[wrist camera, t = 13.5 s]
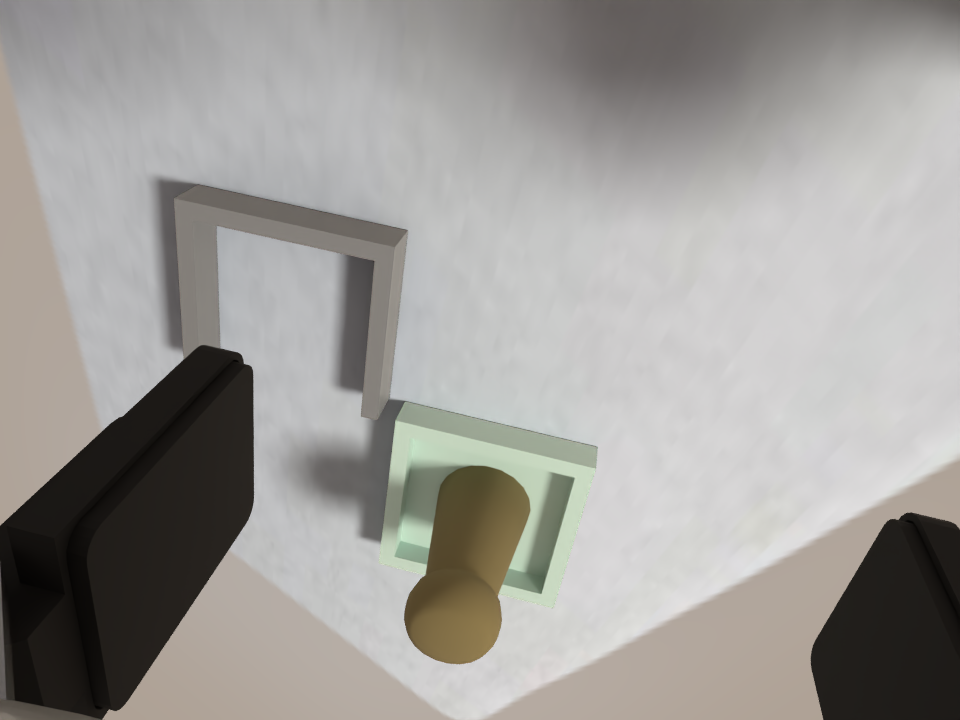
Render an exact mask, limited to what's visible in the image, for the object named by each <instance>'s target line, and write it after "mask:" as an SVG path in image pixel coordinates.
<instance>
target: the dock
mask: <svg viewBox="0 0 960 720" xmlns="http://www.w3.org/2000/svg"><path fill="white" fill-rule="evenodd" d="M174 210H175V227H176V243H177V259H178V275H179V291H180V307H181V323H182V340H183V356H184V359H185V358H186V357H187V356H188V355H189V354H190V353H191V352H193V351H194V350H195V349H196V348H197V347H199V346H200V345H208V346H212V347H216V348H220V326H219V294H218V263H217V231H216V226H220V227H225V228H229V229H234V230H238V231H243V232H247V233H252V234H256V235H261V236H265V237H269V238H274V239H278V240H283V241H287V242H292V243H296V244H301V245H305V246H310V247H314V248H319V249H323V250H328V251H332V252H337V253H341V254H345V255H350V256H354V257H359V258H363V259H368V260H372V261H374V272H373V284H372V295H371V306H370V318H369V329H368V340H367V352H366V363H365V375H364V386H363V397H362V409H361V417H365V418H369V419H374V420H378V418H379V416H380V414H381V412H382V411H383V409H384V407H385V405H386V403H387V401H388V399H389V397H390V388H391V379H392V370H393V361H394V352H395V343H396V334H397V325H398V316H399V307H400V298H401V289H402V280H403V271H404V262H405V253H406V244H407V235H408V231H407V230H403V229H398V228H394V227H389V226H385V225H380V224H376V223H371V222H366V221H362V220H357V219H353V218H348V217H344V216H339V215H335V214H330V213H325V212H321V211H316V210H312V209H307V208H303V207H298V206H294V205H289V204H284V203H280V202H275V201H271V200H266V199H262V198H257V197H253V196H248V195H243V194H239V193H234V192H230V191H225V190H221V189H216V188H212V187H207V186H202V185H196V186H195V187H193V188H191V189H189V190H187V191H186V192H184V193H182V194H180V195H179V196H177V197H175V198H174Z"/></svg>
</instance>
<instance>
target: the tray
mask: <svg viewBox="0 0 960 720" xmlns="http://www.w3.org/2000/svg"><path fill="white" fill-rule="evenodd" d="M597 449H598V447H594V446H590V445H586V444H582V443H577V442H573V441H569V440H565V439H561V438H557V437H552V436H548V435H544V434H540V433H536V432H531V431H527V430H523V429H519V428H515V427H510V426H506V425H502V424H498V423H494V422H489V421H485V420H481V419H477V418H473V417H468V416H464V415H460V414H456V413H452V412H447V411H443V410H439V409H435V408H431V407H427V406H422V405H418V404H414V403H410V402H406V401H405V403H404V405H403V407H402V409H401V411H400V413H399V415H398V417H397V419H396V421H395V429H394V438H393V446H392V455H391V463H390V472H389V480H388V488H387V497H386V505H385V514H384V522H383V531H382V539H381V548H380V556H379V564H383V565H387V566H390V567H394V568H398V569H402V570H406V571H410V572H414V573H418V574H422V575H425V574H426V568H427V562H428V555H429V549H430V543H431V536H432V530H433V524H434V518H435V511H436V505H437V499H438V493H439V489H440V485H441V484H442V482H443V481H444V479H445V478H446V477H447V476H448V475H449V474H451V473H452V472H454V471H455V470H457V469H460V468H464V467H468V466H488V467H492V468H495V469H499V470H502V471H503V472H505V473H507V474H509V475H510V476H512V477H514V478H515V479H516V480H517V481H518V482H519V483H520V484H521V485H522V486H523V487H524V489H525V491H526V493H527V495H528V497H529V500H530V509H531V511H530V514H529V517H528V520H527V523H526V526H525V528H524V531H523V533H522V536H521V538H520V541H519V543H518V546H517V548H516V551H515V554H514V556H513V559H512V561H511V564H510V566H509V569H508V571H507V574H506V576H505V579H504V581H503V584H502V586H501V589H500V591H499V595H503V596H507V597H511V598H515V599H519V600H523V601H527V602H530V603H534V604H538V605H542V606H546V607H550V608H554V605H555V601H556V598H557V595H558V591H559V588H560V585H561V582H562V578H563V575H564V572H565V569H566V565H567V562H568V559H569V555H570V552H571V549H572V546H573V542H574V539H575V536H576V532H577V529H578V526H579V523H580V519H581V516H582V513H583V509H584V506H585V503H586V500H587V496H588V493H589V490H590V486H591V483H592V480H593V477H594V473H595V470H596V461H597Z"/></svg>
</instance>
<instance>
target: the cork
mask: <svg viewBox="0 0 960 720" xmlns="http://www.w3.org/2000/svg"><path fill="white" fill-rule="evenodd" d="M530 511H531V509H530V500H529V497H528V495H527V493H526V491H525V489H524V487H523V486H522V485H521V484H520V483H519V482H518V481H517V480H516V479H515V478H514V477H512V476H510V475H509V474H507V473H505V472H503V471H502V470H499V469H495V468H492V467H488V466H468V467H464V468H460V469H457V470H455V471H454V472H452V473H451V474H449V475H448V476H447V477H446V478H445V479H444V481H443V482H442V484H441V485H440V489H439V493H438V499H437V505H436V511H435V518H434V524H433V530H432V536H431V543H430V549H429V555H428V562H427V568H426V574H425V576H424V577H422V578H421V579H420V581H419V582H418V583H417V584H416V586H415V587H414V588H413V590H412V591H411V592H410V594H409V597H408V600H407V603H406V607H405V614H404V621H405V626H406V630H407V633H408V636H409V638H410V639H411V641H412V642H413V644H414V645H415V647H417V648H418V649H419V650H420V651H421V652H422V653H423V654H425V655H427V656H429V657H431V658H433V659H435V660H438V661H441V662H445V663H450V664H464V663H471V662H473V661H475V660H477V659H479V658H481V657H482V656H484V655H485V654H486V653H487V652H488V651H489V650H490V649H491V648H492V647H493V645H494V643H495V642H496V640H497V637H498V634H499V631H500V628H501V622H502V616H501V608H500V601H499V599H498V594H499V591H500V589H501V586H502V584H503V581H504V579H505V576H506V574H507V571H508V569H509V566H510V564H511V561H512V559H513V556H514V554H515V551H516V548H517V546H518V543H519V541H520V538H521V536H522V533H523V531H524V528H525V526H526V523H527V520H528V517H529V514H530Z"/></svg>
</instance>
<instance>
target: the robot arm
mask: <svg viewBox="0 0 960 720" xmlns="http://www.w3.org/2000/svg"><path fill="white" fill-rule="evenodd" d="M253 502H254V427H253V370H252V367H251V366H250V365H246V364H244V362H243V358H242V355H241V354H239V353H237V352H233V351H229V350H225V349H220V348H216V347H212V346H208V345H200V346H199V347H197V348H196V349H195V350H194V351H193V352H191V353H190V354H189V355H188V356H187V357H186V358H185V359H184V360H183V361H182V362H181V363H180V364H179V365H178V366H176V367H175V368H174V369H173V370H172V371H171V372H170V373H169V374H168V375H167V376H166V377H165V378H164V379H163V380H161V381H160V382H159V383H158V384H157V385H156V386H155V387H154V388H153V389H152V390H151V391H150V392H149V393H148V394H146V395H145V396H144V397H143V398H142V399H141V400H140V401H139V402H138V403H137V404H136V405H135V406H134V407H133V408H131V409H130V410H129V411H128V412H127V413H126V414H125V415H124V416H123V417H119V418H118V419H116V420H115V421H114V422H112V423H111V424H110V425H109V426H107V427H106V428H105V429H104V430H103V431H102V432H101V433H100V434H99V435H98V436H97V437H96V438H95V439H93V440H92V441H91V442H90V443H89V444H88V445H87V446H86V447H85V448H84V449H83V450H82V451H80V453H78V454H77V455H76V456H75V457H74V458H73V459H72V460H71V461H70V462H69V463H68V464H67V465H66V466H64V467H63V468H62V469H61V470H60V471H59V472H58V473H57V474H56V475H55V476H53V477H52V478H51V479H50V480H49V481H48V482H47V483H46V484H45V485H44V486H43V487H42V488H40V489H39V490H38V491H37V492H36V493H35V494H34V495H33V496H32V497H31V498H30V499H29V500H27V501H26V502H25V503H24V504H23V505H22V506H21V507H20V508H19V509H18V510H17V511H16V512H15V513H13V514H12V515H11V516H10V517H9V518H8V519H7V520H6V521H5V522H4V523H3V524H2V525H1V526H0V720H102V719H103V717H104V716H105V714H106V713H107V711H108V710H109V709H110V710H113V711H117V710H119V709H121V708H122V707H123V706H124V705H125V704H126V702H127V701H128V700H129V698H130V697H131V695H132V694H133V692H134V691H135V689H136V688H137V686H138V685H139V683H140V682H141V680H142V678H143V677H144V676H145V674H146V673H147V671H148V670H149V668H150V667H151V665H152V664H153V662H154V661H155V659H156V658H157V656H158V655H159V653H160V651H161V650H162V649H163V647H164V645H165V644H166V643H167V641H168V640H169V638H170V636H171V635H172V634H173V632H174V631H175V629H176V628H177V626H178V625H179V623H180V621H181V620H182V619H183V617H184V616H185V614H186V613H187V611H188V610H189V608H190V607H191V605H192V604H193V602H194V601H195V599H196V598H197V596H198V595H199V593H200V592H201V590H202V589H203V587H204V585H205V584H206V583H207V581H208V580H209V578H210V577H211V575H212V574H213V572H214V571H215V569H216V567H217V566H218V565H219V563H220V562H221V560H222V559H223V557H224V556H225V554H226V553H227V551H228V550H229V548H230V547H231V545H232V544H233V542H234V541H235V539H236V538H237V536H238V535H239V533H240V532H241V530H242V529H243V527H244V526H245V524H246V523H247V521H248V519H249V517H250V514H251V511H252V508H253ZM811 668H812V673H813V677H814V681H815V685H816V690H817V694H818V697H819V702H820V707H821V711H822V715H823V720H960V529H959V528H958V527H957V526H956V524H954V523H952V522H949V521H945V520H940V519H936V518H932V517H928V516H924V515H919V514H915V513H906V514H904V515H903V516H901V517H900V519H899V520H896V519H890V520H889V521H887V522H886V524H885V525H884V526H883V528H882V530H881V531H880V533H879V535H878V536H877V538H876V540H875V541H874V543H873V545H872V546H871V548H870V550H869V551H868V553H867V555H866V556H865V558H864V560H863V562H862V563H861V565H860V566H859V568H858V570H857V571H856V573H855V575H854V577H853V578H852V580H851V582H850V583H849V585H848V587H847V589H846V590H845V592H844V593H843V595H842V597H841V598H840V600H839V602H838V603H837V605H836V607H835V609H834V610H833V612H832V613H831V615H830V617H829V618H828V620H827V622H826V624H825V625H824V627H823V629H822V630H821V632H820V634H819V635H818V637H817V639H816V640H815V643H814V645H813V648H812V653H811Z"/></svg>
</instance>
